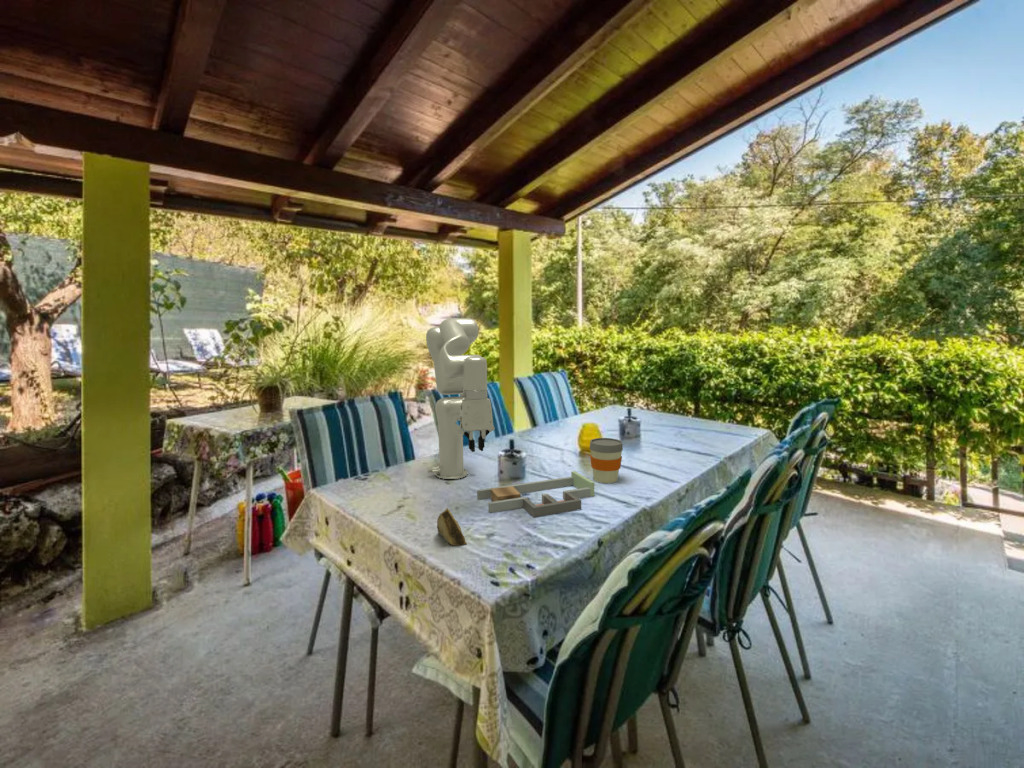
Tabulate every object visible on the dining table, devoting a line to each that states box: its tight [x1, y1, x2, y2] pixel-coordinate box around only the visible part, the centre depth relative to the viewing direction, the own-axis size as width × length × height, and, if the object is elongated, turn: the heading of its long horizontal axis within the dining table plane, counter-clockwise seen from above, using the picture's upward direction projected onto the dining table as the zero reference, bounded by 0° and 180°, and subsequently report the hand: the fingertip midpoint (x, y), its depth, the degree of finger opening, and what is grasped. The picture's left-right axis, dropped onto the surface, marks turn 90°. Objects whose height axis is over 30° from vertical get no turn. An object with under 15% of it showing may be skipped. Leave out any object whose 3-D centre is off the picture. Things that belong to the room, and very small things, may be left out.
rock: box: [436, 507, 467, 546], centre depth 134 cm, size 11×9×10 cm
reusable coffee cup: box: [589, 437, 624, 484], centre depth 183 cm, size 13×13×15 cm
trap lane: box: [476, 470, 595, 518], centre depth 161 cm, size 38×22×5 cm, turn 111°
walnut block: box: [490, 486, 522, 502], centre depth 161 cm, size 8×8×4 cm
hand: (476, 450), depth 155 cm, fingers closed
